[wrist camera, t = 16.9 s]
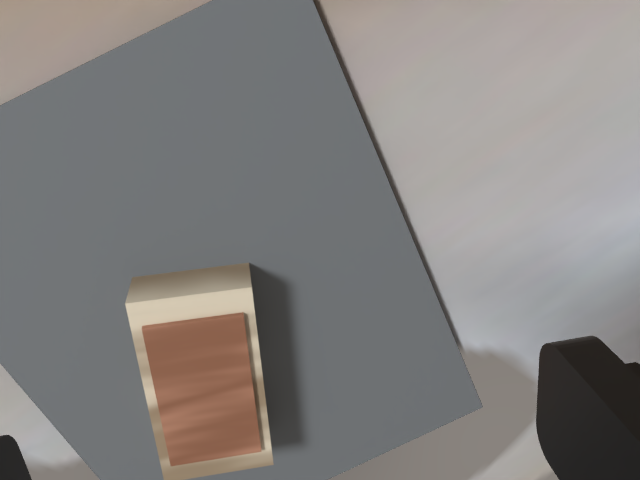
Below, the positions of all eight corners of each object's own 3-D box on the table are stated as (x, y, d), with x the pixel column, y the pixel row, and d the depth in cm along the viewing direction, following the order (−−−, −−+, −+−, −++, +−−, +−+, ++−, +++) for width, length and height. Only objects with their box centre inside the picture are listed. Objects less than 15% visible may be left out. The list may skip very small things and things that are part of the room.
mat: (294, -41, 29) (295, -41, 29) (479, 401, 42) (483, 407, 41) (-148, 178, 30) (-155, 182, 29) (165, 548, 42) (165, 555, 42)
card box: (274, 468, 36) (252, 289, 31) (164, 486, 35) (124, 306, 30) (269, 430, 39) (248, 262, 34) (168, 446, 38) (132, 277, 33)
